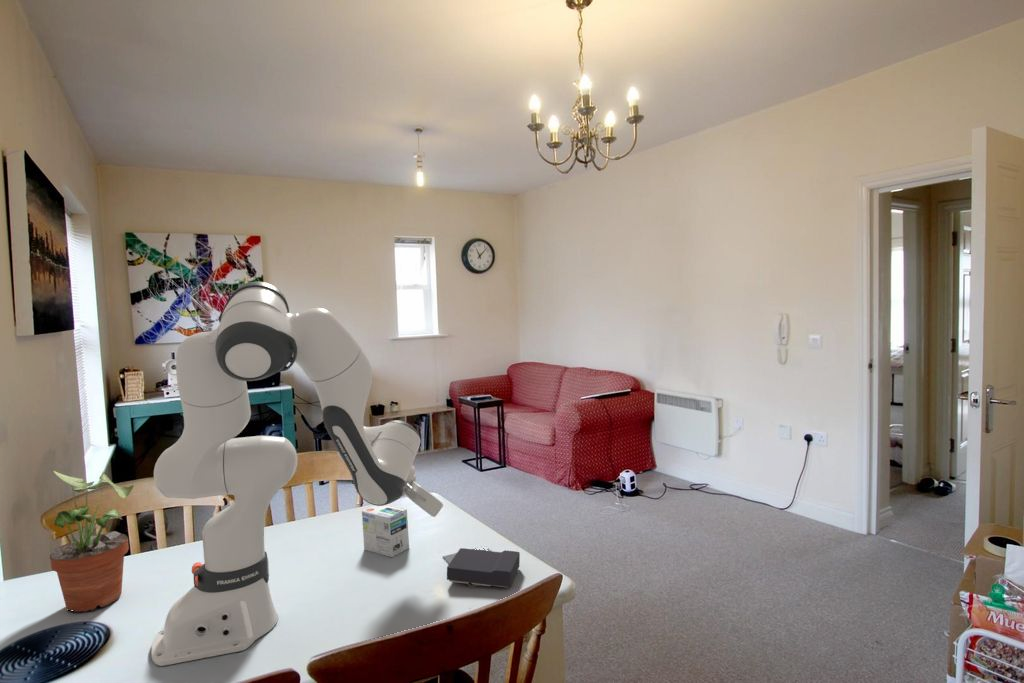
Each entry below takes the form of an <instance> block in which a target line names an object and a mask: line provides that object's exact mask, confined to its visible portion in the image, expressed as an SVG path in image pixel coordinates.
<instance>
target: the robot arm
mask: <svg viewBox="0 0 1024 683" xmlns="http://www.w3.org/2000/svg"><path fill="white" fill-rule="evenodd" d="M218 321H219V324H218V326H217V327H216V328H215V329H214V330H209V331H202V332H196V333H194V334H191V335H189V336H187V337H186V338H185V339H184V340H183V341H181V343H180V344H179V346H178V348H177V351H176V358H175V359H176V360H175V362H176V363H175V365H176V366H175V367H176V369H175V370H176V382H177V384H176V385H177V390H178V394H179V398H180V403H181V408H182V413H183V415H182V416H183V431H182V434H181V435H180V437H179V438H178V439H177V441H176V442H175V443H174V444H172V445H171V446H169V447H168V448H166V449H165V450H164V451H163V452H162V453H161V454H160V455H159V457H158V458H157V460H156V462H155V464H154V469H153V480H154V483H155V486H156V488H157V489H158V491H159V492H160V493H161V494H162V495H163V496H164V497H165V498H171V499H186V500H187V499H189V500H193V499H203V498H210V497H219V496H226V495H227V496H228V495H233V497H234V501H233V503H232V504H230V505H229V506H227V507H226V508H224V509H222V510H221V511H218V512H217V513H216V514H214V515H213V516H212V517H211V518H210V519H209V520H208V521H207V522H206V523H205V525H204V526H203V528H202V534H201V535H202V536H201V537H202V548H203V550H202V551H203V562H204V563H202V562H200V561H197V562H195V563H193V565H192V566H191V574H192V575H193V587H191V588H190V589H189V590H188V591H187V592H186V593H185V594H183V596H181V597H180V598H179V599H178V600H176V601H175V602H174V603H173V605H172V606H171V607H170V609H169V611H168V613H167V615H166V618H165V620H164V626H163V628H161V630H159V631H158V633H157V634H156V635H155V637H154V638H153V641H152V644H151V651H150V654H151V655H150V656H151V660H152V662H153V663H154V664H155V665H157V666H160V667H164V666H169V665H174V664H179V663H180V664H181V663H184V662H190V661H195V660H201V659H205V658H210V657H212V658H213V657H217V656H221V655H228V654H231V653H237V652H242V651H245V650H247V649H249V647H251V645H253V643H254V642H255V641H257V640H258V639H259V638H260V637H262V636H264V635H266V634H267V633H268V632H270V631H271V630H272V629H273V628H274V627H275V626H276V624H277V622H278V620H279V616H278V613H277V611H276V608H275V605H274V602H273V598H272V595H271V591H270V587H269V586H270V584H269V581H270V564H269V557H268V554H267V552H266V551H265V550H266V549H265V520H266V515H267V511H268V508H269V506H270V504H271V502H272V500H273V499H274V497H275V496H276V494H277V493H278V492H279V491H280V490H281V489H282V488H283V487H284V486H285V485H287V484H289V482H290V481H291V479H292V478H293V477H294V475H295V473H296V470H297V468H298V453H297V450H296V448H295V446H294V445H293V443H292V442H291V440H289V439H288V438H286V437H284V436H276V435H255V436H245V437H244V436H243V437H242V436H241V437H237V436H238V435H240V433H242V432H243V430H244V429H245V428H246V426H247V425H248V423H249V422H250V419H251V416H252V410H251V404H250V398H249V397H250V396H249V391H248V384H247V382H253V381H255V382H256V381H260V380H261V381H262V380H264V379H267V378H271V377H272V376H273V375H275V374H277V373H281V372H284V371H285V372H286V371H288V370H289V369H290V368H291V367H292V366H293V365H294V364H295V363H296V364H297V365H298V366H299V367H300V368H301V370H302V371H303V373H304V374H305V375H306V377H308V379H309V380H310V382H311V384H312V385H313V387H314V389H315V392H316V393H317V397H318V399H319V402H320V408H321V411H322V412H321V414H322V421H323V424H324V427H325V429H326V431H327V434H328V435H329V437H330V438H331V440H332V443H333V444H334V446H335V448H336V454H337V455H338V457H339V458H340V459H341V460H342V461H343V463H344V464H345V466H346V467H347V469H348V471H349V472H350V473H349V474H350V475H351V478H352V482H353V485H354V488H355V490H356V492H357V494H358V495H359V497H360V498H361V499H362V500H363V501H365V502H366V503H368V504H371V505H372V506H375V505H376V506H383V505H386V506H388V505H389V504H391V503H394V502H395V501H397V500H399V499H401V497H404V496H406V497H407V498H408V499H409V500H410V501H411V502H413V503H414V504H415V505H416V506H418V507H419V508H420V509H422V510H423V511H424V512H426V514H428V515H430V516H431V517H433V518H435V517H436V516H437V515H438V514H439V512H440V511H441V510H442V508H443V507H444V503H443V502H442V501H441V500H439V498H437V497H436V496H435V495H433V494H432V493H431V492H430V491H428V490H427V489H426V488H424V487H423V486H421V485H420V484H419V483H418V482H417V475H416V474H415V473H416V468H415V466H414V465H413V464H414V462H415V458H416V457H417V454H418V452H419V449H420V446H421V442H422V439H421V435H420V433H419V432H418V431H417V429H416V428H414V426H413V425H412V424H410V423H408V422H406V421H404V420H399V419H397V420H391V421H387V422H385V423H383V424H382V425H376V426H366V425H364V418H365V411H366V405H367V402H368V399H369V394H370V391H371V387H372V384H373V370H372V367H371V366H372V365H371V364H370V361H369V358H368V356H367V354H366V353H365V351H364V349H363V348H362V347H361V345H359V342H358V341H357V339H356V338H355V337H354V335H353V334H352V333H351V331H350V330H349V329H348V328H347V327H346V326H345V325H344V323H342V321H340V320H339V318H338V317H336V316H335V314H333V313H332V312H331V311H329V310H328V309H326V308H322V307H312V308H308V309H305V310H303V311H301V312H300V313H290V307H289V304H288V302H287V299H286V297H285V295H284V294H283V293H282V292H281V290H280V289H278V288H277V287H276V286H274V285H273V284H270V283H269V282H265V281H249V282H247V283H244V284H242V285H241V286H239V287H238V288H236V290H235V291H234V292H233V293H231V294H230V296H229V298H228V299H227V301H226V303H225V305H224V307H223V309H222V311H221V312H220V314H219V316H218ZM288 364H289V365H288Z"/></svg>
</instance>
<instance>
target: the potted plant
mask: <svg viewBox="0 0 1024 683" xmlns="http://www.w3.org/2000/svg"><path fill="white" fill-rule="evenodd" d="M49 470H50V471H51V472H52V473H54V475H56V477H58V478H60V480H62V481H63V482H65V483H66V484H68V485H71V488H72V489H71V490H72V494H73V500H74V502H73V503H74V509H70V510H68V511H66V510H65V511H63V510H62V511H59V512H57V516H56V518H55V520H54V523H53V525H54V526H57V527H60V528H61V529H63V528H65V526H66V525H67V528H68V530H69V533H70V535H71V539H72V541H70V542H67V543H65V544H63V545H61V546H59V547H55V548H54V549H53V550H52V551H51V553H50V554H49V560H50V566H51V570H52V571H53V572H56V573H57V577H58V581H59V585H60V589H61V592H62V593H61V594H62V596H63V600H64V603H65V608H66V610H67V609H68V610H73V611H84V612H88V611H87V610H91V611H94V610H95V609H97V608H100V607H101V608H104V607H106V606H108V605H110V604H112V603H113V602H115V601H116V600H118V599H119V598H120V597H121V595H122V591H123V590H122V589H123V577H124V576H123V574H124V560H125V555H126V554H127V553H128V551H129V549H130V547H129V537H128V536H127V534H124V533H121V532H118V531H116V530H115V531H114V530H113V531H107V532H105V533H104V532H103V533H102V531H103V529H105V528H107V523H108V522H109V520H110V519H111V518H114V519H119V520H123V518H122V517H121V515H120V513H119V512H118V511H117V510H116V509H114V508H112V509H109V510H107V511H106V510H105V511H104V512H105V513H103V514H102V517H97V515H98V514H97V512H98V510H99V503H100V502H101V501H100V499H101V497H102V494H103V491H104V489H105V486H106V485H107V484H109V485H110V486H111V487H112V488H113V489H114V490H115V491H116V492H117V494H118V495H119V497H120V498H122V499H125V498H126V497H129V495H130V494H131V491H132V490H133V489H134V485H130V486H119V485H118V484H115V483H114V482H113V481H111V479H110V478H109V477H108V476H107V474H106V473H104V472H102V473H101V475H100V476H99V478H98V479H99V481H98V482H97V483H96V484H94V483H95V482H94V481H91V482H85V479H83V478H79V477H74V476H70V475H66V474H62V473H60V472H57V471H55V470H53V469H52V468H49ZM103 483H105V484H104V486H103V488H102V491H101V493H100V498H99V500H98V503H97V507H96V510H95V511H94V514H93V516H92V514H89V509H90V506H89V505H88V492H86V491H88V490H91V491H92V490H97V489H99V488H101V487H102V485H103ZM73 487H74V488H73ZM74 492H77V493H83V492H86V494H85V495H86V496H85V497H86V498H85V506H80V507H78V505H77V501H76V497H75V493H74ZM76 522H77V525H78V526H77V527H78V532H79V534H78V535H79V537H78V538H75V537H74V534H73V532H72V529H71V528H70V526H69V525H74V524H76ZM81 522H82V524H84V523H85V524H84V525H85V526H84V525H82V524H81ZM95 522H96V524H97V525H96V527H95V529H94V526H95ZM89 523H90V524H89ZM98 526H99V527H100V528H99V530H98V532H97V534H96V535H94V533H95V531H96V529H97V528H98ZM83 531H84V533H83ZM83 534H84V536H83ZM105 605H106V606H105ZM103 606H104V607H103ZM93 609H94V610H93Z"/></svg>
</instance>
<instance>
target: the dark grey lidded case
mask: <svg viewBox="0 0 1024 683" xmlns="http://www.w3.org/2000/svg"><path fill="white" fill-rule="evenodd" d="M456 553H457V554H456V555H455V557H454V558H453V559H452V561H451V562H450V564H448V565H447V566H446V580H448V581H449V582H450V583H459V584H467V585H468V584H469V583H471V584H475V585H478V586H484V587H491V586H493V587H501V588H510V587H511V588H512V585H513V582H514V580H515V579H516V578H515V577H516V575H517V574H518V571H519V569H520V568H519V567H520V562H521V561H520V556H521V555H520V552H519V551H517V550H516V551H514V550H505V549H504V550H503V551H493V550H491V551H483V550H474V548H465V547H464V548H462V547H461V548H459V549H458V551H457V552H456ZM516 573H517V574H516Z"/></svg>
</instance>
